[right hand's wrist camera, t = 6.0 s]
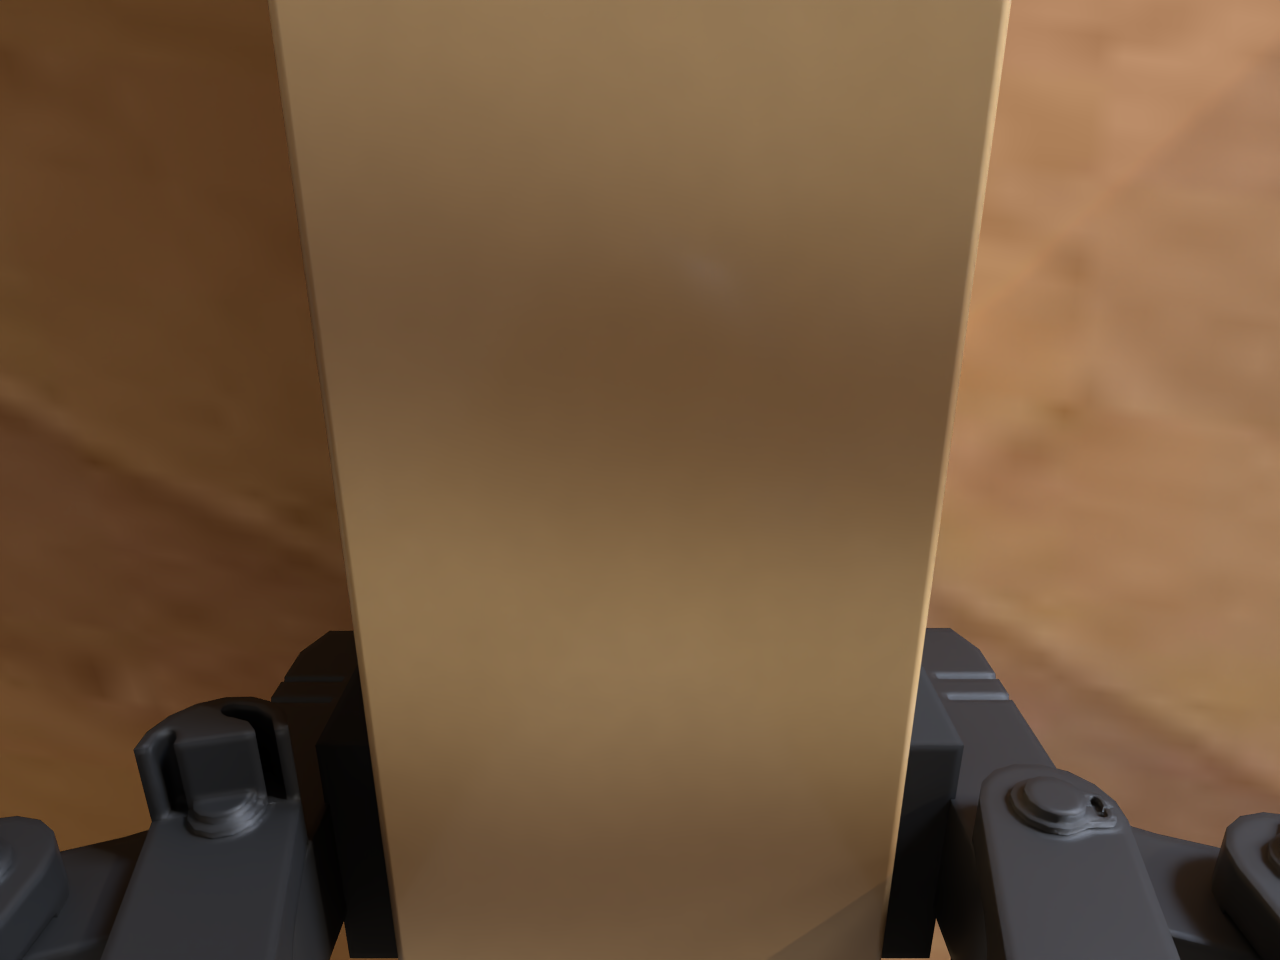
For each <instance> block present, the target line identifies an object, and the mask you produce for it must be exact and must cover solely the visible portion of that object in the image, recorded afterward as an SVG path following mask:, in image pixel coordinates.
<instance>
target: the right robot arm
mask: <svg viewBox="0 0 1280 960" xmlns="http://www.w3.org/2000/svg"><path fill="white" fill-rule="evenodd" d="M134 753H135V757H136V761H137V765H138V769H139V773H140V777H141V781H142V785H143V789H144V793H145V796H146V800H147V804H148V808H149V812H150V816H151V820H152V823H151V826H150V829H149V830H147V831H143V832H140V833H137V834H133V835H130V836H127V837H123V838H119V839H114V840H110V841H105V842H101V843H96V844H92V845H88V846H83V847H79V848H74V849H70V850H65V851H61V852H60V851H59V847H58V844H57V841H56V838H55V834H54V831H53V830H51V829H50V828H49V827H48V826H47V825H45V824H44V823H43V822H42V821H41V820H37V819H31V818H25V817H20V816H14V817H5V818H0V960H329V959H330V957H331V954H332V951H333V949H334V946H335V943H336V941H337V938H338V935H339V933H340V930H341V927H342V924H343V922H344V924H345V930H346V936H347V942H348V948H349V955H350V958H398V953H397V946H396V938H395V931H394V924H393V916H392V909H391V902H390V894H389V887H388V880H387V872H386V865H385V858H384V850H383V843H382V836H381V829H380V821H379V814H378V807H377V799H376V792H375V785H374V777H373V770H372V763H371V755H370V748H369V741H368V733H367V726H366V719H365V711H364V704H363V697H362V689H361V682H360V675H359V667H358V660H357V653H356V645H355V638H354V631H329V632H328V633H326V634H325V635H324V636H322V637H321V638H319V639H318V640H317V641H315V642H314V643H313V644H311V645H310V646H308V647H307V648H306V649H304V650H303V651H302V652H300V654H299V655H298V657H297V659H296V660H295V662H294V663H293V665H292V666H291V668H290V669H289V671H288V672H287V674H286V676H285V680H284V682H281V683H280V685H279V686H278V688H277V690H276V691H275V693H274V694H273V696H272V697H271V702H270V701H267V700H263V699H259V698H255V697H225V698H221V699H216V700H212V701H208V702H203V703H199V704H196V705H193V706H191V707H189V708H186V709H184V710H182V711H180V712H177V713H175V714H173V715H170V716H169V717H167V718H166V719H164V720H163V721H162V722H160V723H159V724H157V725H156V726H155V727H153V728H152V729H150V730H149V731H148V732H147V733H146V734H145V735H144V737H143V738H142V739H141V741H140V742H139V743H138V745H137V746H136V747H135V748H134ZM936 919H937V922H938V924H939V927H940V930H941V932H942V935H943V938H944V940H945V943H946V946H947V948H948V951H949V954H950V956H951V960H1280V814H1273V813H1265V812H1262V813H1256V814H1251V815H1245V816H1240V817H1239V818H1238V819H1236V820H1235V821H1234V822H1233V823H1232V824H1230V825H1229V826H1228V827H1227V829H1226V832H1225V835H1224V839H1223V842H1222V845H1221V848H1217V847H1213V846H1209V845H1204V844H1200V843H1195V842H1191V841H1186V840H1182V839H1177V838H1173V837H1168V836H1164V835H1160V834H1156V833H1152V832H1149V831H1145V830H1142V829H1139V828H1135V827H1132V826H1130V824H1129V822H1128V820H1127V818H1126V817H1125V815H1124V814H1123V812H1122V811H1121V809H1120V808H1119V806H1118V805H1117V803H1116V802H1115V801H1114V800H1113V799H1112V798H1111V797H1109V796H1108V795H1107V794H1106V793H1104V792H1103V791H1102V790H1101V789H1099V788H1098V787H1097V786H1096V785H1095V784H1093V783H1090V782H1088V781H1086V780H1084V779H1082V778H1080V777H1078V776H1076V775H1074V774H1072V773H1070V772H1068V771H1064V770H1060V769H1056V767H1055V765H1054V764H1053V762H1052V761H1051V759H1050V758H1049V756H1048V755H1047V753H1046V752H1045V750H1044V749H1043V747H1042V745H1041V744H1040V742H1039V741H1038V739H1037V738H1036V736H1035V735H1034V733H1033V732H1032V730H1031V728H1030V727H1029V725H1028V724H1027V722H1026V721H1025V719H1024V718H1023V716H1022V715H1021V713H1020V711H1019V710H1018V708H1017V707H1016V705H1015V704H1014V702H1013V701H1012V700H1009V694H1008V693H1007V691H1006V690H1005V688H1004V687H1003V685H1002V684H1001V682H1000V681H999V679H996V678H995V673H994V671H993V670H992V668H991V667H990V665H989V664H988V662H987V660H986V659H985V657H984V656H983V654H982V653H981V651H980V650H979V649H978V648H977V647H975V646H974V645H973V644H971V643H970V642H968V641H967V640H966V639H964V638H963V637H961V636H960V635H959V634H957V633H956V632H955V631H953V630H952V629H950V628H926V632H925V639H924V646H923V654H922V661H921V669H920V676H919V683H918V691H917V698H916V705H915V713H914V720H913V727H912V735H911V742H910V749H909V757H908V764H907V771H906V779H905V786H904V793H903V801H902V808H901V816H900V823H899V830H898V838H897V845H896V852H895V860H894V867H893V874H892V882H891V889H890V896H889V904H888V911H887V918H886V926H885V933H884V940H883V948H882V955H881V958H929V957H930V951H931V945H932V939H933V933H934V927H935V921H936Z"/></svg>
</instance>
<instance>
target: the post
mask: <svg viewBox="0 0 1280 960" xmlns="http://www.w3.org/2000/svg"><path fill="white" fill-rule="evenodd" d="M267 1H268V8H269V15H270V23H271V30H272V37H273V45H274V52H275V59H276V67H277V74H278V81H279V89H280V96H281V103H282V111H283V118H284V125H285V132H286V140H287V147H288V154H289V162H290V169H291V176H292V184H293V191H294V198H295V206H296V213H297V220H298V228H299V235H300V242H301V250H302V257H303V264H304V272H305V279H306V286H307V294H308V301H309V308H310V316H311V323H312V330H313V338H314V345H315V352H316V360H317V367H318V374H319V382H320V389H321V396H322V404H323V411H324V418H325V426H326V433H327V440H328V448H329V455H330V462H331V470H332V477H333V484H334V491H335V499H336V506H337V513H338V521H339V528H340V535H341V543H342V550H343V557H344V565H345V572H346V579H347V587H348V594H349V601H350V609H351V616H352V623H353V631H354V638H355V645H356V653H357V660H358V667H359V675H360V682H361V689H362V697H363V704H364V711H365V719H366V726H367V733H368V741H369V748H370V755H371V763H372V770H373V777H374V785H375V792H376V799H377V807H378V814H379V821H380V829H381V836H382V843H383V850H384V858H385V865H386V872H387V880H388V887H389V894H390V902H391V909H392V916H393V924H394V931H395V938H396V946H397V953H398V960H881V955H882V948H883V940H884V933H885V926H886V918H887V911H888V904H889V896H890V889H891V882H892V874H893V867H894V860H895V852H896V845H897V838H898V830H899V823H900V816H901V808H902V801H903V793H904V786H905V779H906V771H907V764H908V757H909V749H910V742H911V735H912V727H913V720H914V713H915V705H916V698H917V691H918V683H919V676H920V669H921V661H922V654H923V646H924V639H925V632H926V624H927V617H928V610H929V602H930V595H931V588H932V580H933V573H934V566H935V558H936V551H937V544H938V536H939V529H940V522H941V514H942V507H943V500H944V492H945V485H946V477H947V470H948V463H949V455H950V448H951V441H952V433H953V426H954V419H955V411H956V404H957V397H958V389H959V382H960V375H961V367H962V360H963V353H964V345H965V338H966V331H967V323H968V316H969V308H970V301H971V294H972V286H973V279H974V272H975V264H976V257H977V250H978V242H979V235H980V228H981V220H982V213H983V206H984V198H985V191H986V184H987V176H988V169H989V162H990V154H991V147H992V139H993V132H994V125H995V117H996V110H997V103H998V95H999V88H1000V81H1001V73H1002V66H1003V59H1004V51H1005V44H1006V37H1007V29H1008V22H1009V15H1010V7H1011V0H267Z"/></svg>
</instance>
